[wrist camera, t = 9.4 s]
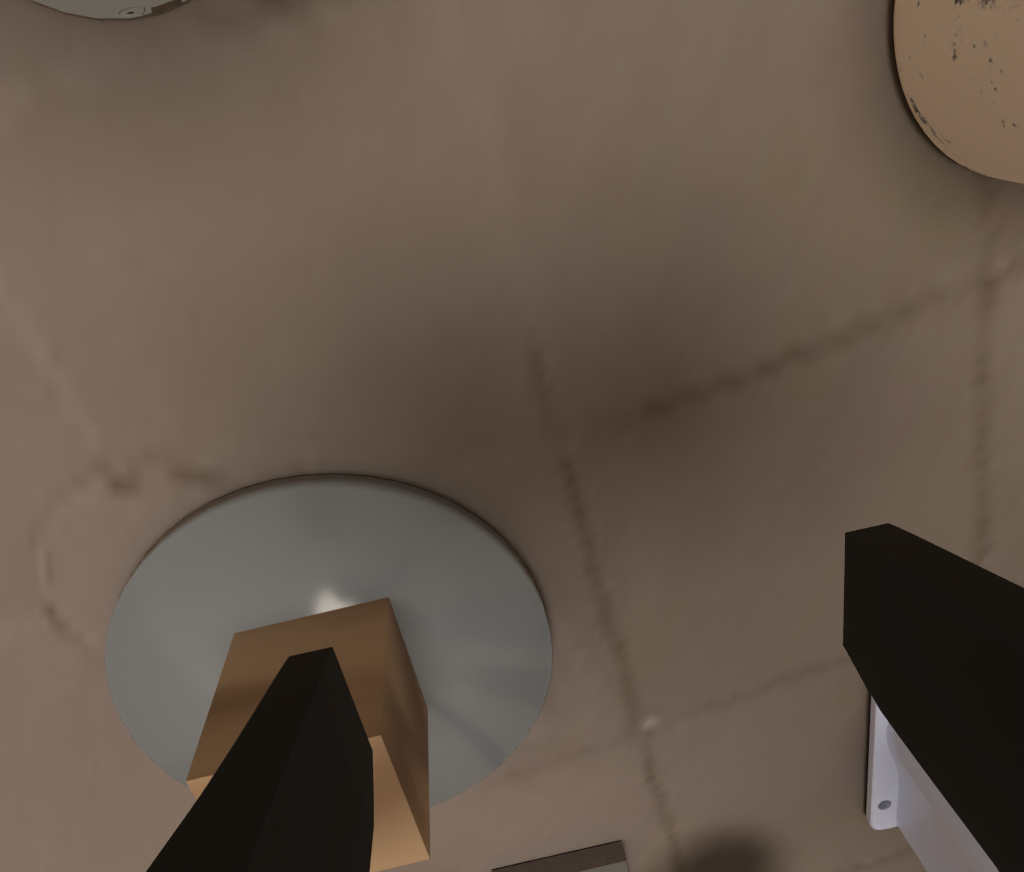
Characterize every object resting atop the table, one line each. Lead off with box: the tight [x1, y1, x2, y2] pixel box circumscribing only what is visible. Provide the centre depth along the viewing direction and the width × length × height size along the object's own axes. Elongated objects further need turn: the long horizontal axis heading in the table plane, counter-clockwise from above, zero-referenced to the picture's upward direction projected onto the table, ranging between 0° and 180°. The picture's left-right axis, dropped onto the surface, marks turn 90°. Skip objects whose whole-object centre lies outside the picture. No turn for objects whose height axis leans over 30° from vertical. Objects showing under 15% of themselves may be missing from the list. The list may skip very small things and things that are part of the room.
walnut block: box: [186, 597, 430, 872], centre depth 20 cm, size 4×4×5 cm
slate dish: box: [105, 474, 553, 807], centre depth 23 cm, size 13×13×1 cm
